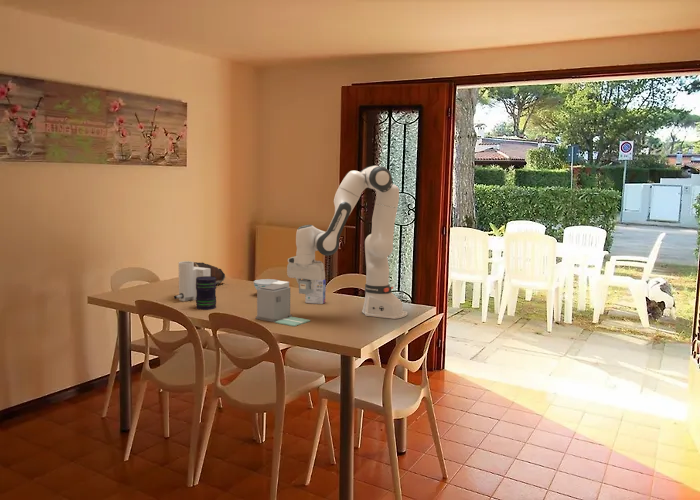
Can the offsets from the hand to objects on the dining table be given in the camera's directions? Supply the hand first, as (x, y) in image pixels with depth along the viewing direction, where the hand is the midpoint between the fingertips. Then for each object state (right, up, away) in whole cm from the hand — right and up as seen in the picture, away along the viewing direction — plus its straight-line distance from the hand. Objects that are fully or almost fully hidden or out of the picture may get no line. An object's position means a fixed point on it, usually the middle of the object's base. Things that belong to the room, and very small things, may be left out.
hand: (306, 288), depth 283 cm
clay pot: (-64, -3, +70) cm, 95 cm away
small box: (-15, -11, +17) cm, 25 cm away
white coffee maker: (-65, -8, +31) cm, 72 cm away
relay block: (0, -2, 0) cm, 2 cm away
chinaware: (-25, -7, +47) cm, 54 cm away
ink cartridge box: (+3, -10, +31) cm, 33 cm away
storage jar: (-51, -11, +14) cm, 54 cm away
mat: (-5, -15, -11) cm, 19 cm away
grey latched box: (-15, -14, -4) cm, 20 cm away
